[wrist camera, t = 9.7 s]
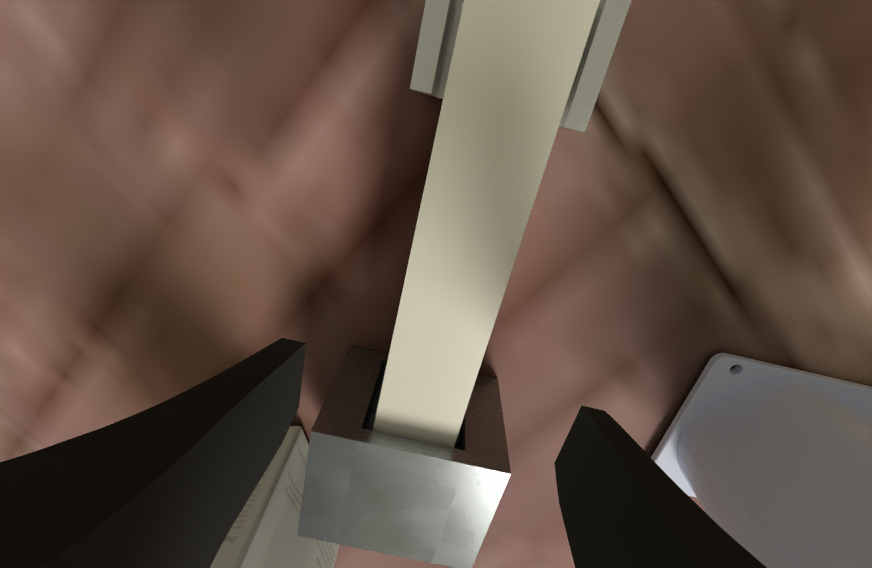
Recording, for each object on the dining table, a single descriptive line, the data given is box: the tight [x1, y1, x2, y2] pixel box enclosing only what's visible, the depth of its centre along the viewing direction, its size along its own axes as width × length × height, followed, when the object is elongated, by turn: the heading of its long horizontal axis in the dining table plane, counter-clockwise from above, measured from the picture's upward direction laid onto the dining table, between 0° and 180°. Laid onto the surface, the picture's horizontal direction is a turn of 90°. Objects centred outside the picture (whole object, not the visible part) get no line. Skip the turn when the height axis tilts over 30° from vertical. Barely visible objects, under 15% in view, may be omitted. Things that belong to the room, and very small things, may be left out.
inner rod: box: [373, 0, 600, 448], centre depth 14 cm, size 3×16×4 cm, turn 167°
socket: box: [297, 346, 511, 568], centre depth 17 cm, size 7×6×5 cm
